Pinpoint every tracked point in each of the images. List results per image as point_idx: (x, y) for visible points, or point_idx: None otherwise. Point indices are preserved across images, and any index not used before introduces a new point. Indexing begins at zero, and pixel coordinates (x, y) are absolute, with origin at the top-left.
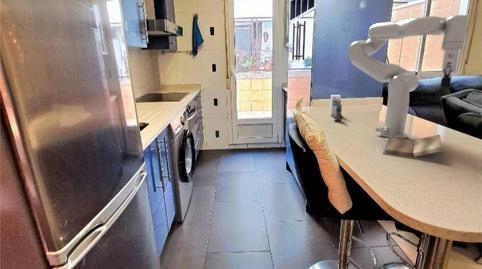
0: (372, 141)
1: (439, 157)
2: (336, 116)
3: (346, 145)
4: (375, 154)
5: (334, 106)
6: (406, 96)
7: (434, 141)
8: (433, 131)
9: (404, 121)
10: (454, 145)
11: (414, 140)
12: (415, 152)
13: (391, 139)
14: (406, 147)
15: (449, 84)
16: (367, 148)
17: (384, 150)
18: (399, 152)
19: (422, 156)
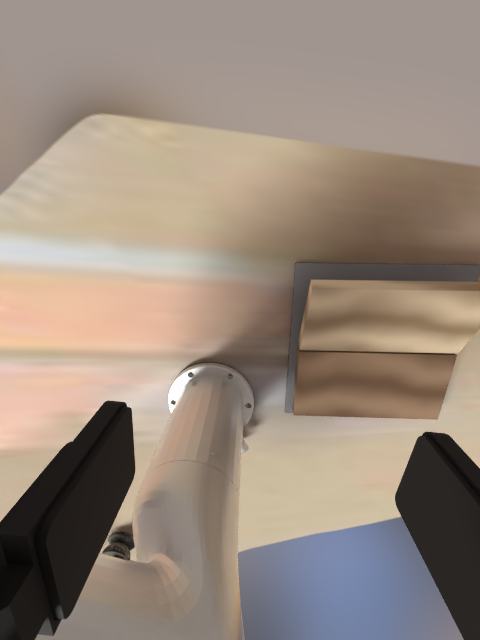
0: (314, 444)
1: (430, 276)
2: None
3: (384, 492)
4: (444, 429)
5: None
6: (221, 543)
7: (401, 305)
8: (59, 277)
9: (221, 415)
10: (240, 216)
11: (300, 349)
12: (460, 349)
13: (317, 410)
14: (397, 370)
15: (473, 467)
16: (393, 449)
17: None
18: (444, 384)
19: None
